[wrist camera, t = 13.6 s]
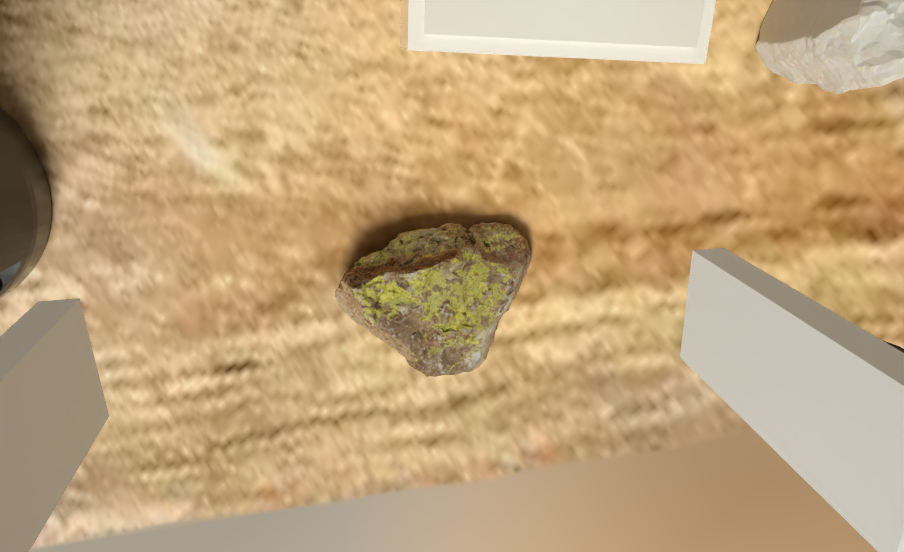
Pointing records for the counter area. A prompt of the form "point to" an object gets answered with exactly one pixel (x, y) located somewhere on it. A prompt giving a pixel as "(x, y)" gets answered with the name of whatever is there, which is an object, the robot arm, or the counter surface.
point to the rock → (438, 292)
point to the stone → (834, 42)
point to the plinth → (562, 28)
